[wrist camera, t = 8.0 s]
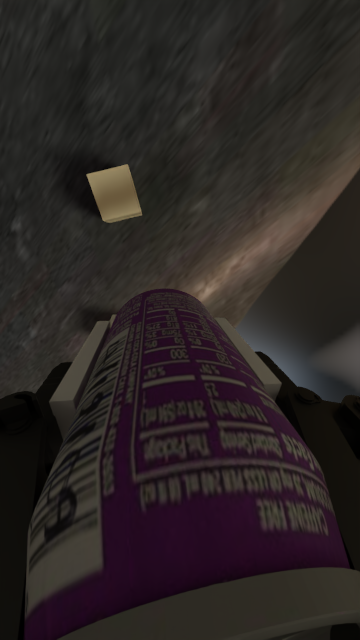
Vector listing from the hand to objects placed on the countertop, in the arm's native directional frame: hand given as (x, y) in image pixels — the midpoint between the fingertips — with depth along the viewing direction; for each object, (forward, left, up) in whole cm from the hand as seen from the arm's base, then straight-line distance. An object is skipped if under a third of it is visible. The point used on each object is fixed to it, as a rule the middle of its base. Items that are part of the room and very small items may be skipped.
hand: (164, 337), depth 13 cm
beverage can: (0, 0, -1) cm, 1 cm away
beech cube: (-11, -5, -22) cm, 25 cm away
